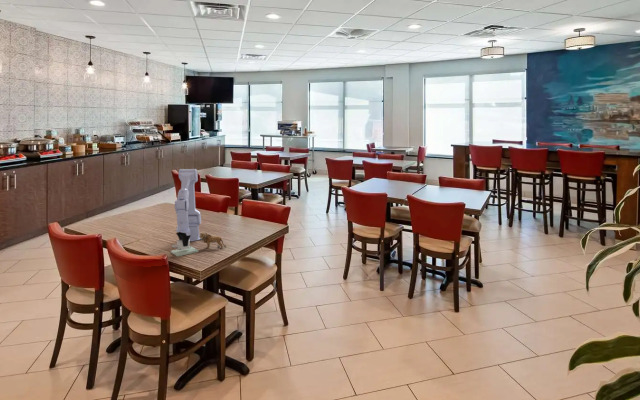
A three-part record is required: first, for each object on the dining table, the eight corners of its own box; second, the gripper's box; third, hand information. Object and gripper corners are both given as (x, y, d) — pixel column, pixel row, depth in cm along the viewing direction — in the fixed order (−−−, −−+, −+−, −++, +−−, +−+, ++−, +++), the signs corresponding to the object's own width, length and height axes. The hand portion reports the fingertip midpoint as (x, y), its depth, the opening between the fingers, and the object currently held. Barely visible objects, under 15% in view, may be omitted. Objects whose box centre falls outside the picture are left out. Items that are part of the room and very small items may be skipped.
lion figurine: (199, 249, 226) (198, 233, 225) (201, 246, 232) (200, 231, 230) (225, 248, 227) (224, 233, 225) (227, 246, 232) (226, 231, 231)
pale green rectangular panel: (170, 252, 220) (170, 250, 220) (191, 248, 228) (191, 246, 228) (177, 256, 214) (177, 254, 214) (198, 251, 221) (198, 250, 221)
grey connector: (172, 250, 218) (171, 241, 217) (188, 246, 224) (188, 238, 223) (174, 251, 215) (173, 242, 214) (190, 248, 221) (190, 239, 220)
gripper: (170, 220, 220) (172, 243, 223) (180, 225, 210) (182, 250, 212) (182, 218, 225) (184, 241, 228) (193, 223, 214) (195, 247, 217)
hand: (184, 245), depth 220 cm, fingers closed on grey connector, 3 cm apart
